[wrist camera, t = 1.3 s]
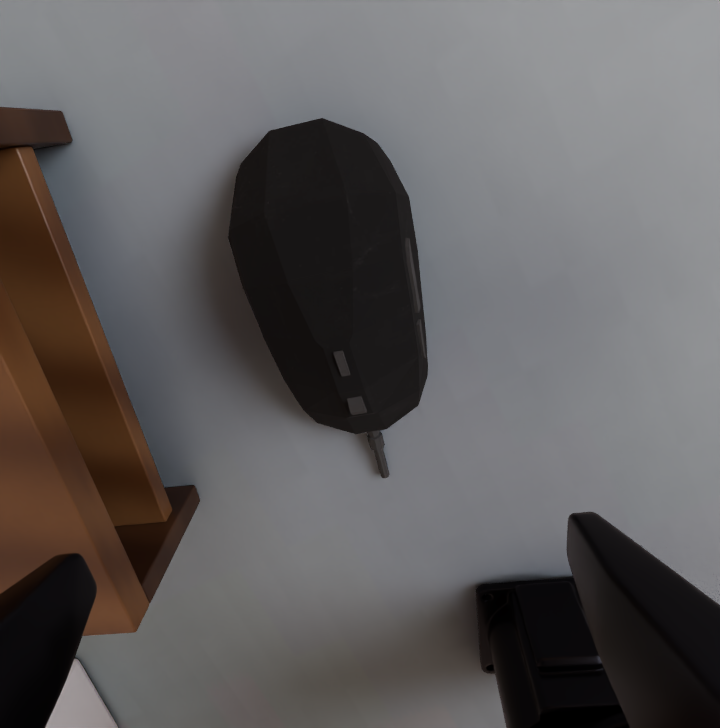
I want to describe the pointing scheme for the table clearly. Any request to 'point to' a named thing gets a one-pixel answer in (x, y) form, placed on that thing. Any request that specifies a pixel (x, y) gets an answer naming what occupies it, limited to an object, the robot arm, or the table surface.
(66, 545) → the walnut wood stand
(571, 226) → the table surface
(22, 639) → the robot arm
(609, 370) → the table surface
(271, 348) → the gaming mouse
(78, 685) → the medicine bottle
